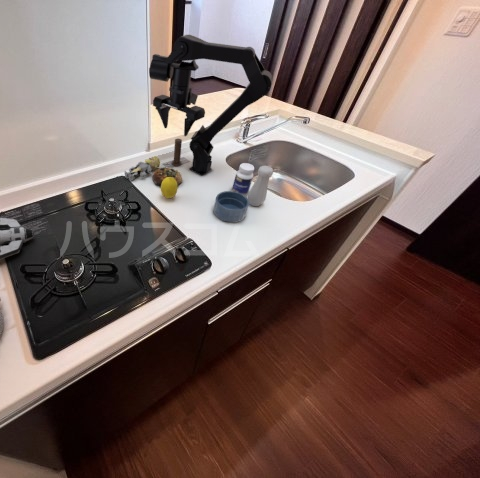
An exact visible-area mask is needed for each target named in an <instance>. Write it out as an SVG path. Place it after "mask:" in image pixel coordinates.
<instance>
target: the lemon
mask: <svg viewBox="0 0 480 478" xmlns="http://www.w3.org/2000/svg"><path fill="white" fill-rule="evenodd" d="M178 188H179V187H178V185H177V182H176V180H175V179H174V178H172V177H167V178H165V179H164V180H163V181H162V183H161V186H160V193H161V194H162V196H163V197H165V198H167V199H171V198H174V197H175V196H176V195H177V192H178V190H179V189H178Z"/></svg>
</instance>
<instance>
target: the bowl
mask: <svg viewBox="0 0 480 478" xmlns="http://www.w3.org/2000/svg"><path fill="white" fill-rule="evenodd" d="M249 206H250V204H249V200H248V197H247V196H246V195H245V196H244V195H242V194H240V193H238V192H234V191H232V190H224V191H221V192H219V193H218V194H217V195H216V196H215V201H214V205H213V213H214V215H215V216H216V217H217V218H218V219H219V220H221V221H224V222H227V223H238V222H239V221H242V220H244V219H245V218H246V215H247V212H248V209H249Z"/></svg>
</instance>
